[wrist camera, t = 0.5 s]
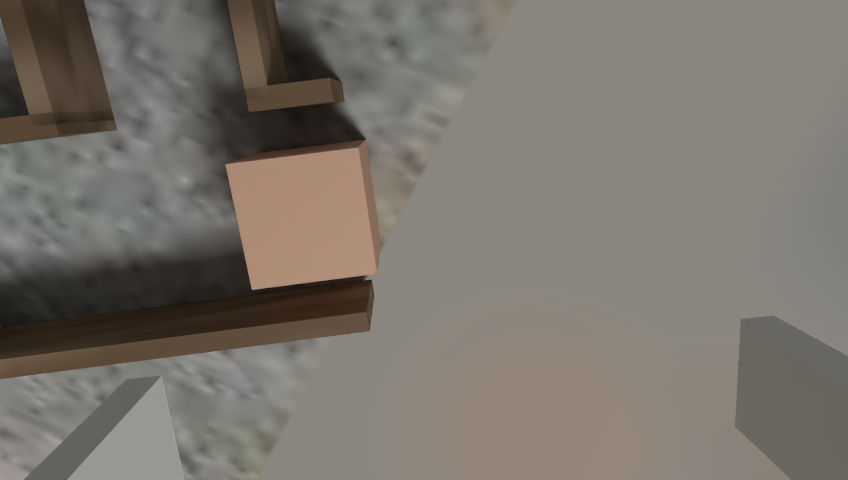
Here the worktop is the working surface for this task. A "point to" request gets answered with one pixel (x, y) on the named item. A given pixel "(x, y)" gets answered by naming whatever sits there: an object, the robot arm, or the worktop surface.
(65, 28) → the frame
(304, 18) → the worktop surface
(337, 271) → the block
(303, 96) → the low walled maze tray
